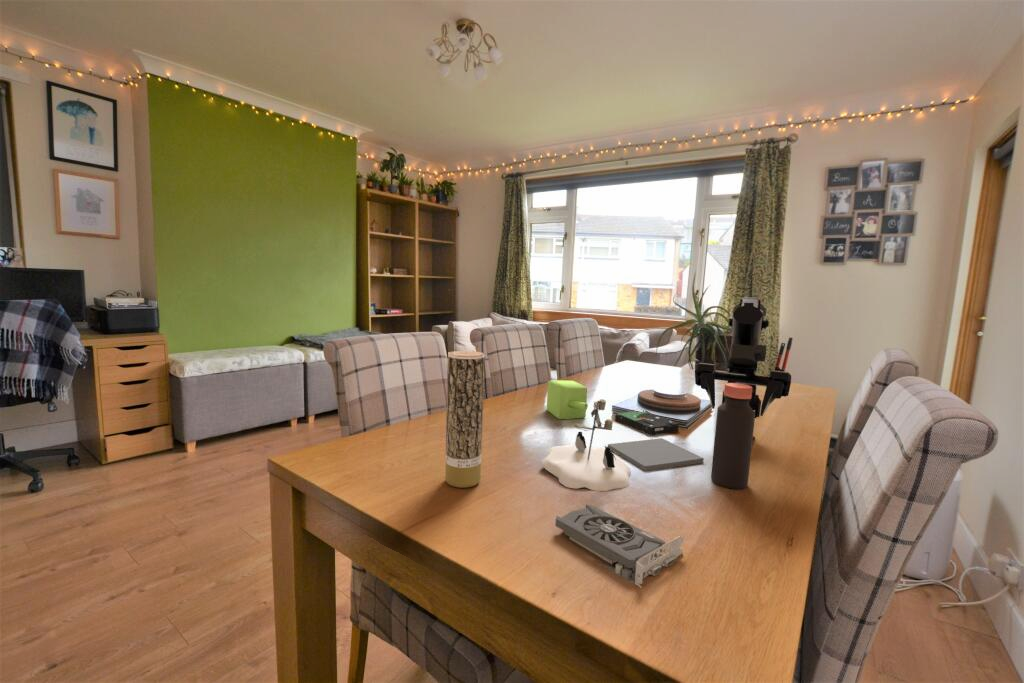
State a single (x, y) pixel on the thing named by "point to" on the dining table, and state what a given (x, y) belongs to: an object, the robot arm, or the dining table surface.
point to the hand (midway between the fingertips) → (736, 411)
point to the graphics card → (619, 543)
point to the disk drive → (647, 422)
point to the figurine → (588, 461)
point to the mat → (654, 454)
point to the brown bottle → (733, 437)
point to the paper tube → (464, 418)
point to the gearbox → (566, 399)
